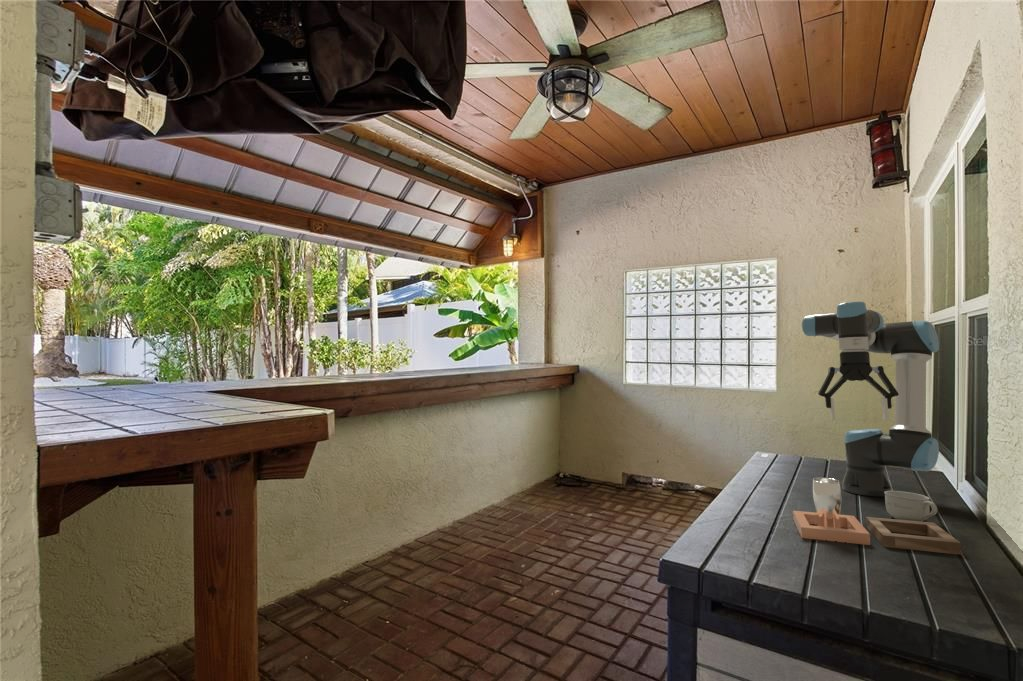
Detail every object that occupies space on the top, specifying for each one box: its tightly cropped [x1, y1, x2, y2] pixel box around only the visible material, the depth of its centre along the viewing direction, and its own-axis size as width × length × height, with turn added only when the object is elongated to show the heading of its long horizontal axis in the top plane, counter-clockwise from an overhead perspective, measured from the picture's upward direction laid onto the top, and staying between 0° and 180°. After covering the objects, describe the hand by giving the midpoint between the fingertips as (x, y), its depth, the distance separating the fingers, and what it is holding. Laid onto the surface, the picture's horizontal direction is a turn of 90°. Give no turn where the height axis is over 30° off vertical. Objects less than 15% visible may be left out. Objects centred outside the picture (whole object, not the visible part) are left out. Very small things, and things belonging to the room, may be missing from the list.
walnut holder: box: [865, 516, 963, 556], centre depth 129 cm, size 16×16×3 cm
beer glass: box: [812, 477, 842, 528], centre depth 137 cm, size 7×7×15 cm
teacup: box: [884, 490, 938, 522], centre depth 143 cm, size 14×11×8 cm
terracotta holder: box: [792, 510, 871, 546], centre depth 137 cm, size 16×16×3 cm
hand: (858, 419), depth 146 cm, fingers open, 13 cm apart
